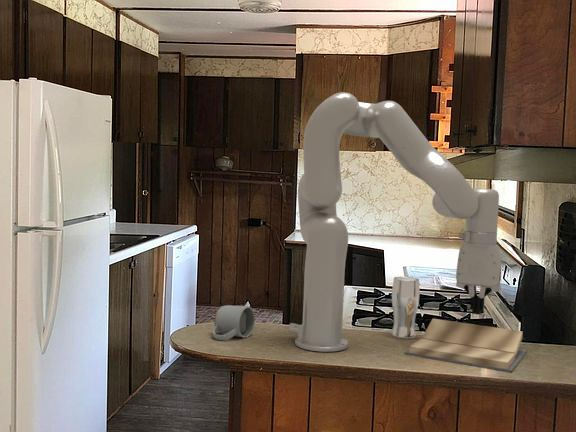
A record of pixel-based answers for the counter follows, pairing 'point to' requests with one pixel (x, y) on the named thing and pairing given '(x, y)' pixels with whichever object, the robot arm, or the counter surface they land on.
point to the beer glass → (405, 306)
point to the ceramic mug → (233, 322)
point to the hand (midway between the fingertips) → (476, 312)
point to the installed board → (463, 353)
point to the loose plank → (474, 335)
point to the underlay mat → (510, 369)
